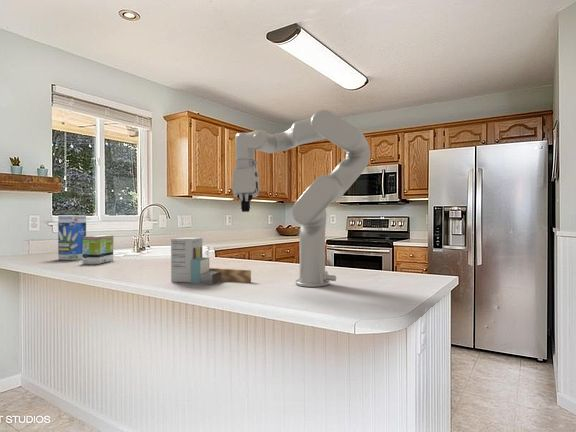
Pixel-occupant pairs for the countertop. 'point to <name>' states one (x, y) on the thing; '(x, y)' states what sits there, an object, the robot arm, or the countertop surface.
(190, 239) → the supplement box
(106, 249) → the tea box
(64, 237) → the string lights box
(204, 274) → the grey rounded block
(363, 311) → the countertop surface
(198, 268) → the book
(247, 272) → the rail
